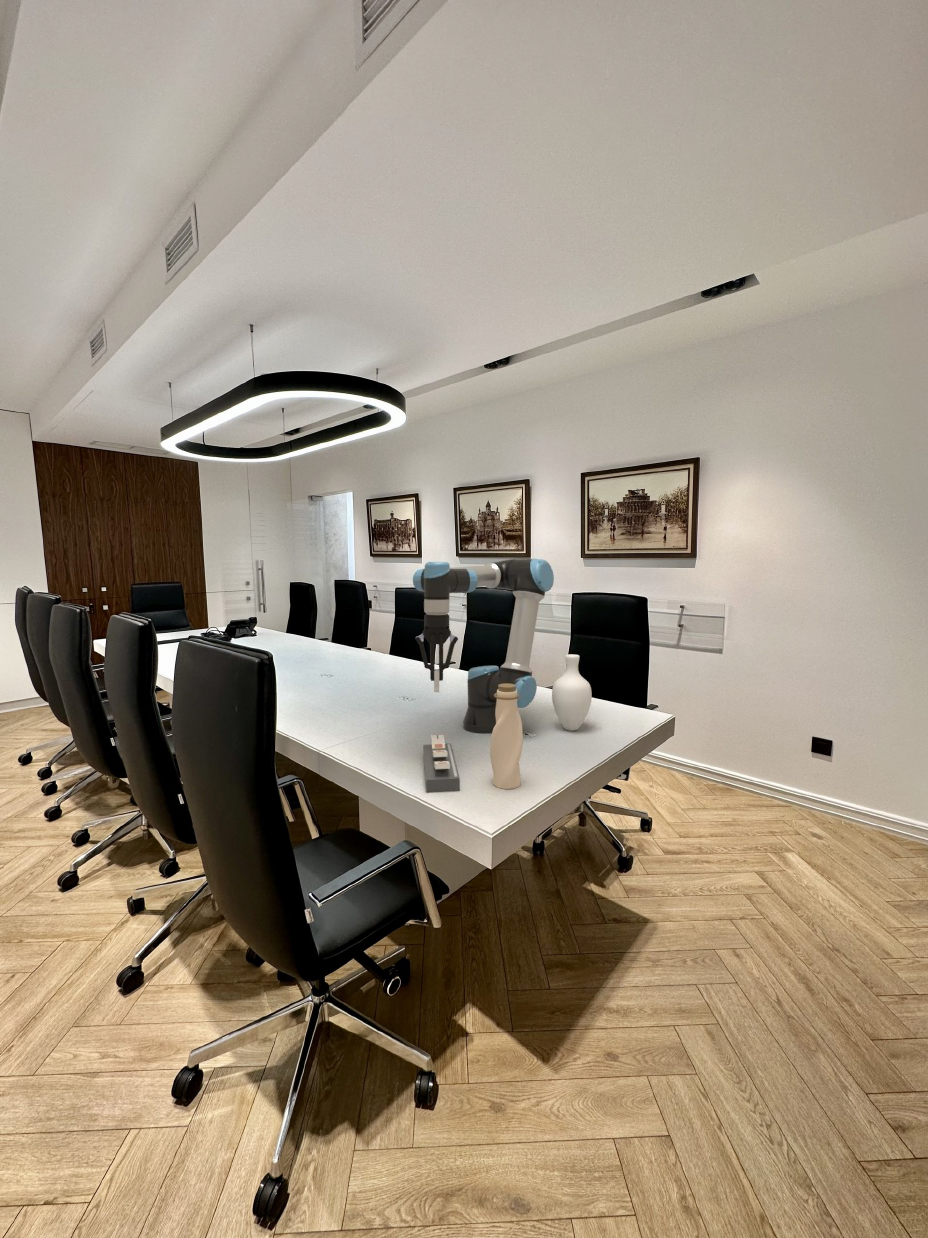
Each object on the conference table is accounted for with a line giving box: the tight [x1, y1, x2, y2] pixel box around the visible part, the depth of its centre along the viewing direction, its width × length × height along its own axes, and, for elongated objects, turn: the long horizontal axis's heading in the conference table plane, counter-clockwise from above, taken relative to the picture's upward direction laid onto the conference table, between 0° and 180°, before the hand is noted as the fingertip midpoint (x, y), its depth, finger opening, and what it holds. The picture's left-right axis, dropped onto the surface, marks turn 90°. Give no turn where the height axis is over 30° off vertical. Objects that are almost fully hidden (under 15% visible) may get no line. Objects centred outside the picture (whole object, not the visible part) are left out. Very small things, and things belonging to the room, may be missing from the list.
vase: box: [551, 653, 593, 732], centre depth 193 cm, size 14×14×28 cm
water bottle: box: [489, 683, 524, 790], centre depth 146 cm, size 10×9×28 cm
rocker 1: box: [430, 734, 446, 752], centre depth 164 cm, size 4×7×2 cm, turn 6°
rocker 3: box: [434, 761, 450, 769], centre depth 146 cm, size 4×7×2 cm, turn 6°
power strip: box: [422, 743, 461, 793], centre depth 159 cm, size 9×37×4 cm, turn 6°
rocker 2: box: [433, 750, 447, 757], centre depth 155 cm, size 4×7×2 cm, turn 6°
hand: (436, 691), depth 158 cm, fingers closed
